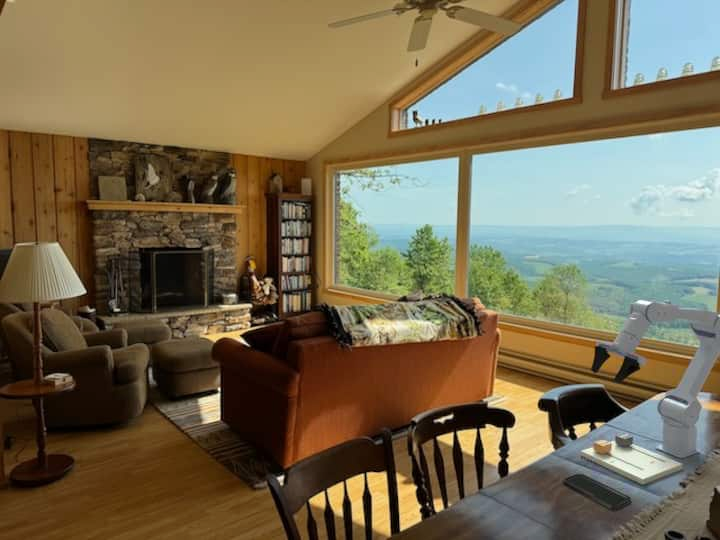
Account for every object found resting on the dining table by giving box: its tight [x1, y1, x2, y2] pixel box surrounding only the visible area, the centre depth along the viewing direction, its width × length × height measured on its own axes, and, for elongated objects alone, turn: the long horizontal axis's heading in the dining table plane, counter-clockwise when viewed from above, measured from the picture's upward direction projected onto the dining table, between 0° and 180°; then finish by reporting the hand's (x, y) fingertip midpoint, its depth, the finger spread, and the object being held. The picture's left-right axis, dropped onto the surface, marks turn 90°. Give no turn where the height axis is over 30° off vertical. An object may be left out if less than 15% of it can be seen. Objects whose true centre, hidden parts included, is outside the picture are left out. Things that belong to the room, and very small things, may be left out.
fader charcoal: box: [614, 432, 634, 447], centre depth 151 cm, size 4×3×2 cm
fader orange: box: [593, 439, 612, 454], centre depth 146 cm, size 4×3×2 cm
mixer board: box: [580, 439, 683, 485], centre depth 143 cm, size 18×19×2 cm
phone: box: [562, 473, 632, 510], centre depth 127 cm, size 8×1×15 cm
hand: (604, 376), depth 140 cm, fingers open, 7 cm apart
